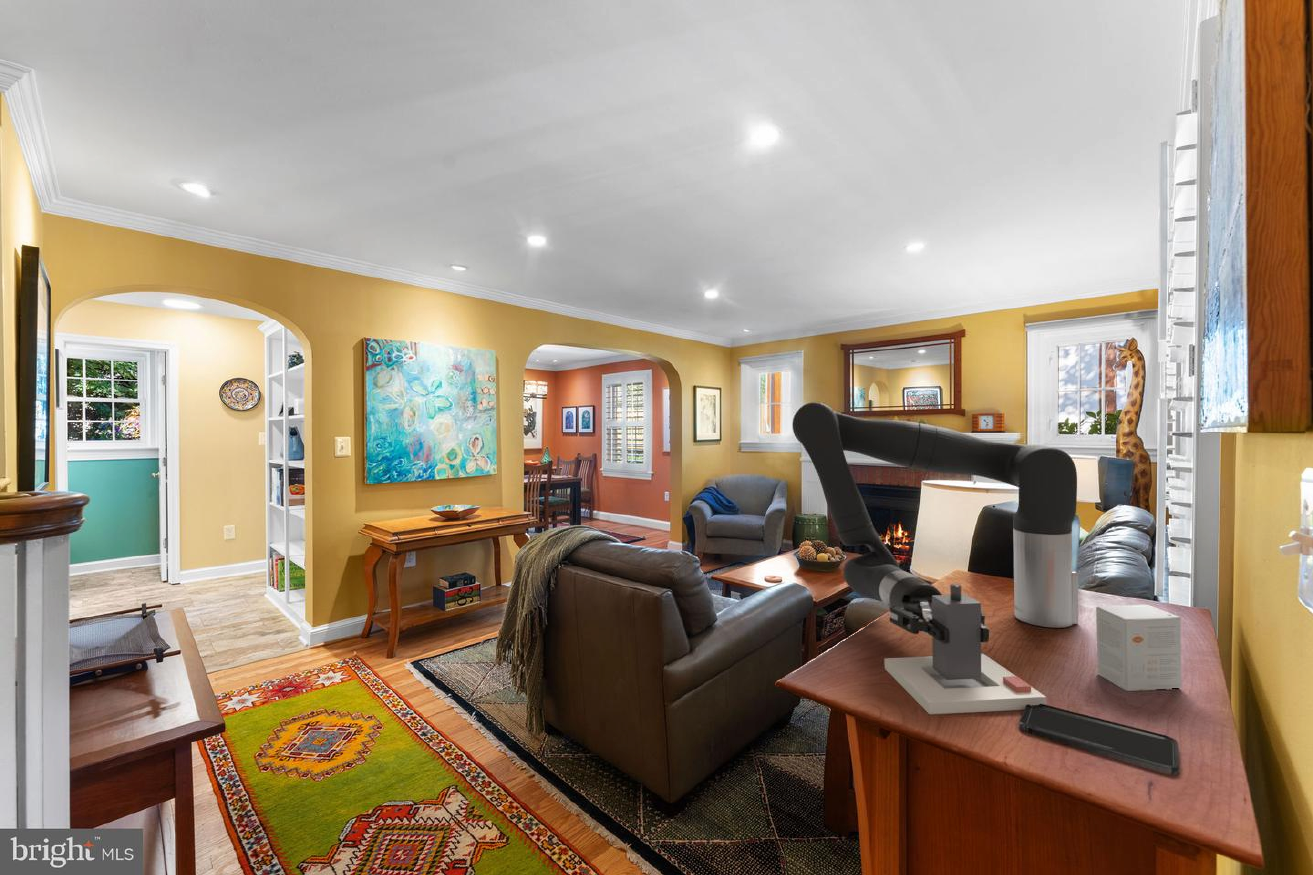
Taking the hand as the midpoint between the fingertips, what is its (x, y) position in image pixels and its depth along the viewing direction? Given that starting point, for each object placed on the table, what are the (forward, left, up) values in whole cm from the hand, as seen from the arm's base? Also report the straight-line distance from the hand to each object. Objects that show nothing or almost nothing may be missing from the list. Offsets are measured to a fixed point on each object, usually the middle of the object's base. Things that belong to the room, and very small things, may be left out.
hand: (966, 636), depth 80 cm
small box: (-26, -2, -9) cm, 28 cm away
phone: (-9, +11, -9) cm, 17 cm away
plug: (0, -3, -6) cm, 7 cm away
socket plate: (0, -3, -8) cm, 9 cm away
